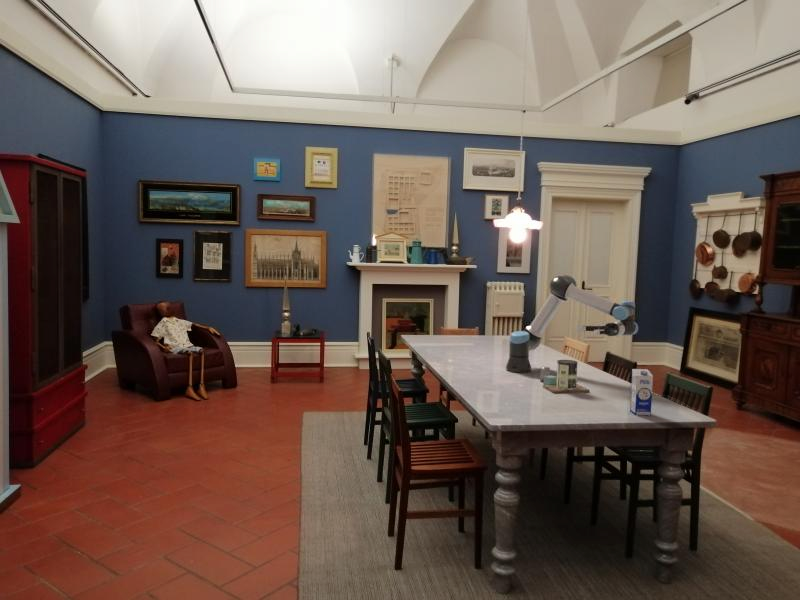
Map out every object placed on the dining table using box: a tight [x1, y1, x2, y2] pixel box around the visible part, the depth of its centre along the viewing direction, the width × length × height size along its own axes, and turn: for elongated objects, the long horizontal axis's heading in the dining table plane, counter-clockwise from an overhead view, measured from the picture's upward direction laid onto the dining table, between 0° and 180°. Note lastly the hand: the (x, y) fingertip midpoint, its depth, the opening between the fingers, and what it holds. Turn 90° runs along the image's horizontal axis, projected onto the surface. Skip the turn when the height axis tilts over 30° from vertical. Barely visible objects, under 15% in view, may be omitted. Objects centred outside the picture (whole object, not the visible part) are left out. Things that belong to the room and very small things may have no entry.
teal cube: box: [542, 374, 557, 386], centre depth 313 cm, size 5×5×5 cm
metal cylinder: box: [539, 366, 551, 384], centre depth 322 cm, size 5×5×8 cm
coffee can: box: [556, 359, 578, 390], centre depth 303 cm, size 10×10×14 cm
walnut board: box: [542, 383, 590, 394], centre depth 303 cm, size 13×20×1 cm, turn 101°
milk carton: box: [629, 368, 654, 417], centre depth 260 cm, size 7×7×20 cm
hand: (585, 330), depth 313 cm, fingers open, 13 cm apart
